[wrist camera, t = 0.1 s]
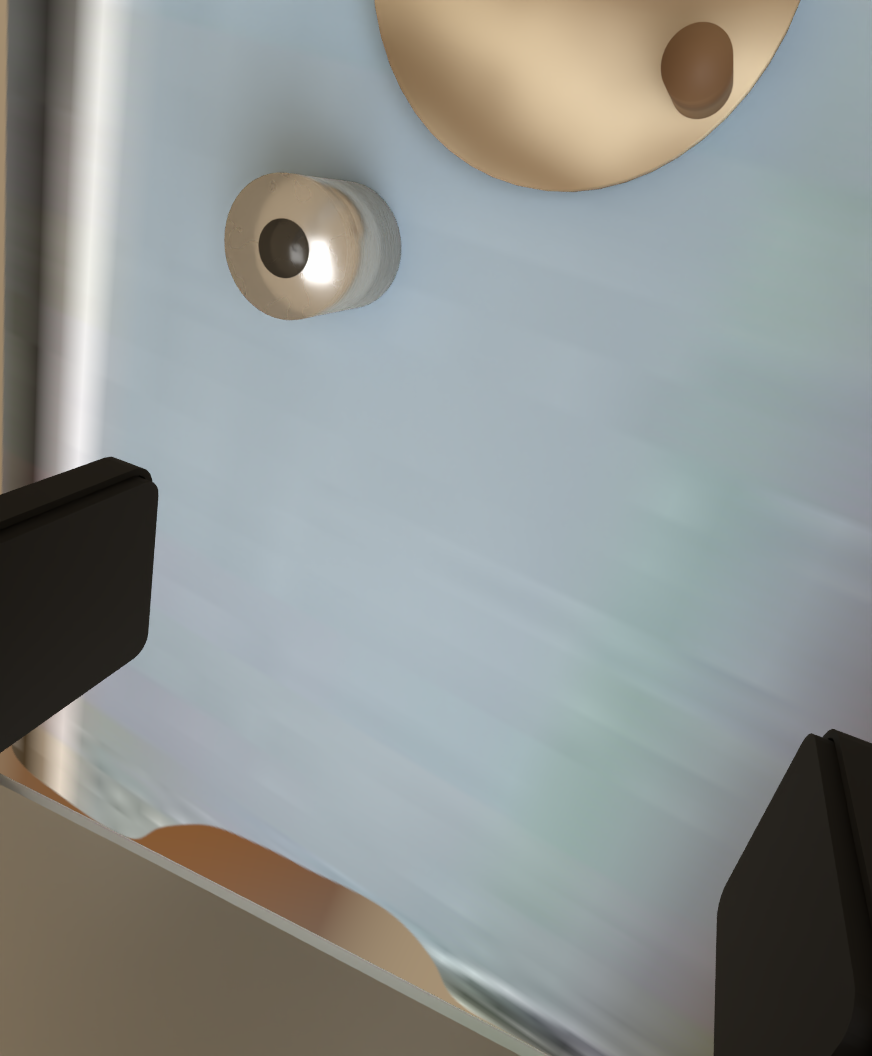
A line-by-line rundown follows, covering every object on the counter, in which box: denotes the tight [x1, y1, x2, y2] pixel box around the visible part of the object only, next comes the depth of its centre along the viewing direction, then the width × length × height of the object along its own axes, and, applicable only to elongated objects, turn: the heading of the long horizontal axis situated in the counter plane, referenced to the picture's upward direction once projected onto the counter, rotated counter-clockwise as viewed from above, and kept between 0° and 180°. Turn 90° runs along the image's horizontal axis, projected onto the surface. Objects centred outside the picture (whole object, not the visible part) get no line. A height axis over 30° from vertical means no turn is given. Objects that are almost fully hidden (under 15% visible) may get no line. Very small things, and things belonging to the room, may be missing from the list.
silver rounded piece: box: [224, 173, 401, 320], centre depth 39 cm, size 6×6×7 cm
